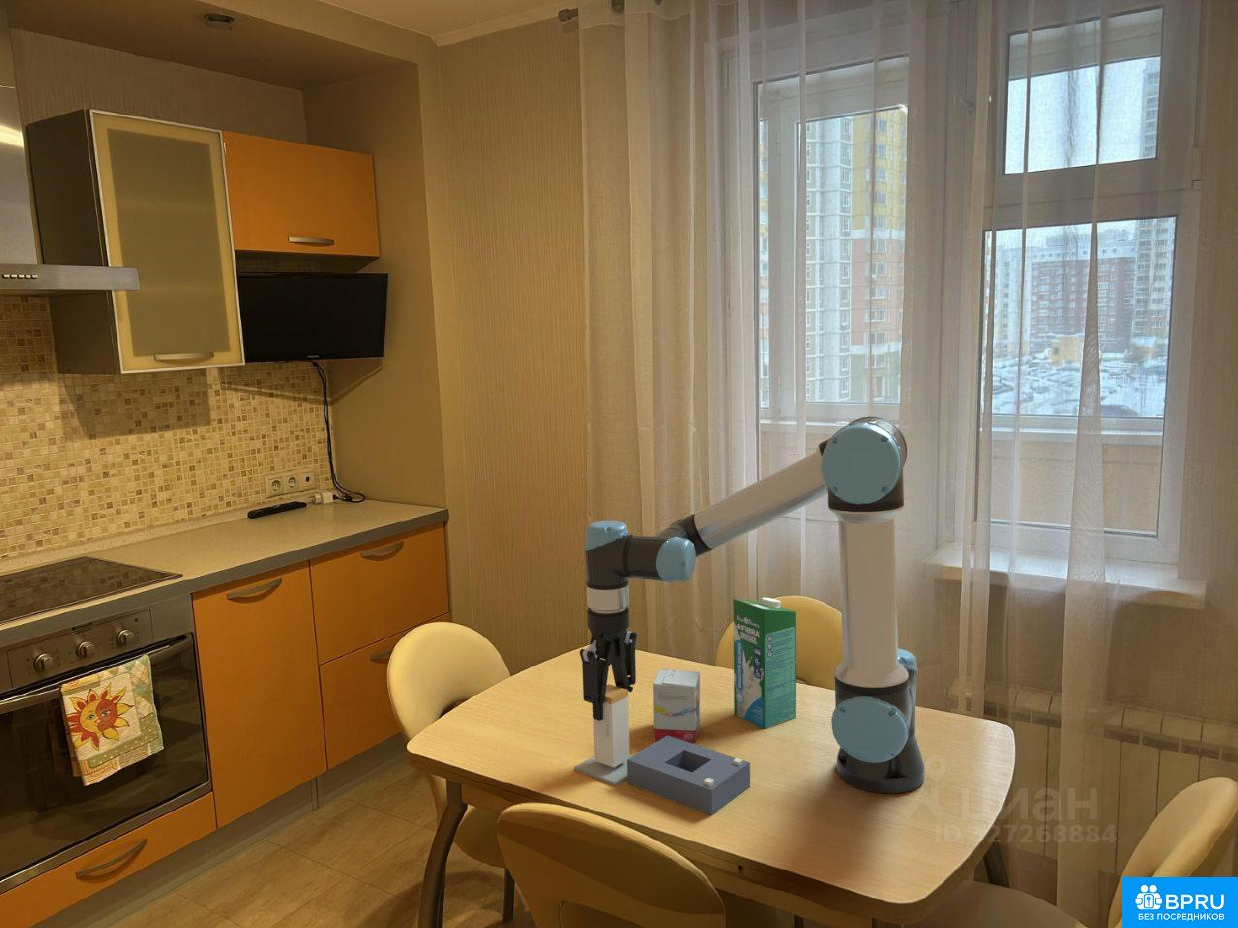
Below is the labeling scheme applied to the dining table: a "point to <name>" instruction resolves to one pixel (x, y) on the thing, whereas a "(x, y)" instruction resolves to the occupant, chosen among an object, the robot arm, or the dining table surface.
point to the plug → (614, 729)
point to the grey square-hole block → (689, 774)
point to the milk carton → (764, 662)
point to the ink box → (676, 704)
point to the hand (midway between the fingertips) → (611, 729)
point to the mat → (604, 771)
